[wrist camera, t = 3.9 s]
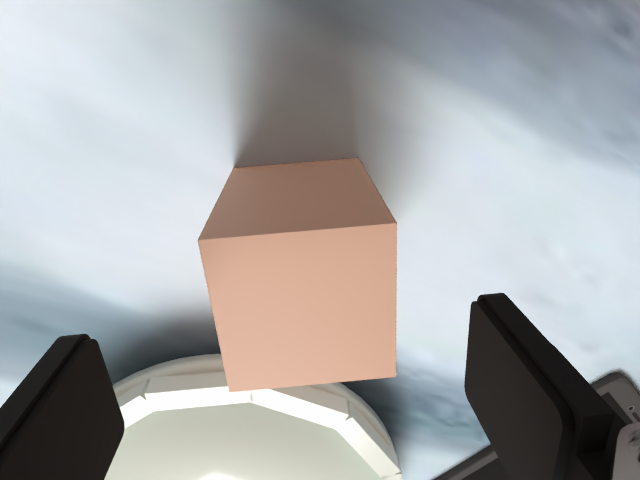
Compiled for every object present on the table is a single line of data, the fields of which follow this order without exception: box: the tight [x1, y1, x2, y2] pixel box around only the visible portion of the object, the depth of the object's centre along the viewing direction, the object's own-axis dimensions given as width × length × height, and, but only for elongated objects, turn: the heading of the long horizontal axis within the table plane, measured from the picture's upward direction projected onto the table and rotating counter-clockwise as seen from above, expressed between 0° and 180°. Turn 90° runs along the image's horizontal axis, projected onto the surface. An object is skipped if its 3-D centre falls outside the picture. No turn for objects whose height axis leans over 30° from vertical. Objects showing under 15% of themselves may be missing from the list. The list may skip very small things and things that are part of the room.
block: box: [198, 158, 397, 393], centre depth 15 cm, size 5×5×7 cm
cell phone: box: [435, 373, 640, 480], centre depth 25 cm, size 7×14×1 cm, turn 132°
